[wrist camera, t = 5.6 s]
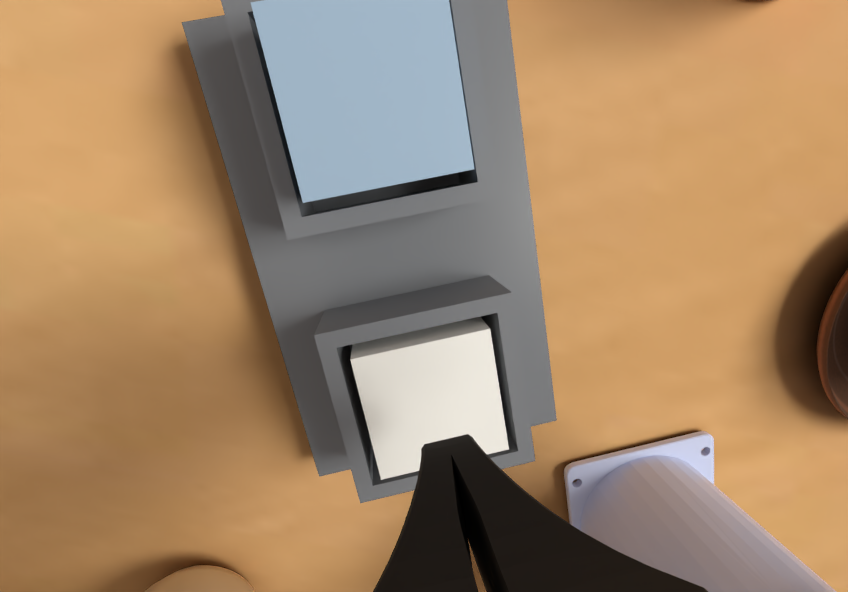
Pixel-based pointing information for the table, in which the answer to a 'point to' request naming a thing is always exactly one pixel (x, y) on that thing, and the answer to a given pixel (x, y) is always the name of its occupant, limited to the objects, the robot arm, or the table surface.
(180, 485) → the table surface
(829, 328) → the cup and saucer
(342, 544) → the table surface
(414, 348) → the white key
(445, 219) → the key panel
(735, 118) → the table surface
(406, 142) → the blue key
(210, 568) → the plastic bottle
